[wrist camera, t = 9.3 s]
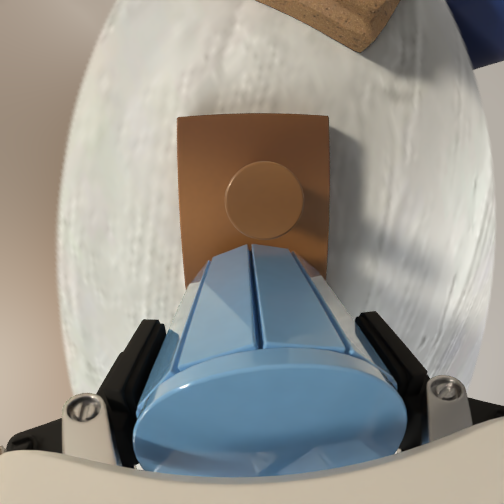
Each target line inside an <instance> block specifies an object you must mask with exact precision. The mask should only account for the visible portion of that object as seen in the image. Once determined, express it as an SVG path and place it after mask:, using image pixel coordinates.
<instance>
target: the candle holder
mask: <svg viewBox="0 0 504 504" xmlns="http://www.w3.org/2000/svg"><path fill="white" fill-rule="evenodd" d="M256 1H258V2H261V3H263V4H265V5H268V6H270V7H272V8H275V9H277V10H279V11H281V12H283V13H286V14H288V15H290V16H292V17H294V18H296V19H298V20H300V21H302V22H304V23H306V24H308V25H310V26H311V27H313V28H315V29H317V30H319V31H321V32H322V33H324V34H326V35H328V36H329V37H331V38H333V39H335V40H336V41H338V42H340V43H342V44H343V45H345V46H347V47H349V48H350V49H352V50H354V51H357V52H360V53H361V52H362V51H364V50H365V49H366V48H367V47H368V46H369V45H370V44H371V43H372V42H373V41H375V39H376V38H377V36H378V35H379V34H380V32H381V31H382V30H383V28H384V27H385V25H386V24H387V22H388V20H389V19H390V17H391V15H392V14H393V12H394V10H395V8H396V7H397V5H398V3H399V2H400V0H256Z"/></svg>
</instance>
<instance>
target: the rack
mask: <svg viewBox="0 0 504 504" xmlns="http://www.w3.org/2000/svg"><path fill="white" fill-rule="evenodd" d="M177 162H178V190H179V210H180V227H181V241H182V254H183V265H184V276H185V286H186V290H187V287H188V286H189V284H190V283H191V282H192V280H193V279H194V278H195V277H196V275H197V274H198V273H199V271H200V270H201V269H202V268H203V266H204V265H205V264H206V263H207V261H208V260H210V261H211V260H212V258H213V257H214V256H217V255H220V254H222V253H225V252H227V251H230V250H233V249H235V248H238V247H241V246H243V245H246V244H247V245H248V246H249V249H251V244H258V245H265V246H272V247H279V248H286V249H289V251H290V252H292V251H294V252H295V253H296V254H298V255H299V256H300V257H301V258H302V259H304V260H305V261H306V262H307V263H309V264H310V265H311V266H312V267H313V268H315V269H316V270H317V271H318V272H319V273H320V274H321V276H322V277H323V278H324V280H325V281H326V272H327V255H328V234H329V200H330V146H329V117H328V116H321V115H304V114H274V113H246V114H217V115H200V116H187V117H178V118H177Z"/></svg>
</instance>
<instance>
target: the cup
mask: <svg viewBox="0 0 504 504" xmlns="http://www.w3.org/2000/svg"><path fill="white" fill-rule="evenodd" d="M136 416H137V420H136V423H135V425H134V428H133V435H132V442H133V450H134V453H135V455H136V458H137V460H138V462H139V463H140V465H141V467H142V468H143V469H144V471H151V472H158V473H166V474H175V475H186V476H201V477H264V476H279V475H290V474H299V473H307V472H315V471H321V470H328V469H333V468H339V467H344V466H349V465H354V464H358V463H363V462H367V461H371V460H375V459H379V458H383V457H386V456H390V455H393V454H395V452H396V451H397V450H398V448H399V446H400V444H401V442H402V440H403V438H404V435H405V432H406V429H407V420H408V417H407V409H406V406H405V403H404V401H403V398H402V397H401V395H400V394H399V392H398V389H397V383H396V381H395V380H394V378H393V376H392V375H391V373H390V372H389V370H388V369H387V367H386V366H385V364H384V363H383V361H382V360H381V358H380V357H379V355H378V354H377V352H376V351H375V350H374V348H373V347H372V345H371V344H370V342H369V341H368V339H367V338H366V337H365V335H364V334H363V332H362V331H361V329H360V328H359V327H358V325H357V324H356V322H355V321H354V320H353V318H352V317H351V315H350V314H349V313H348V311H347V310H346V308H345V307H344V306H343V304H342V303H341V301H340V300H339V299H338V297H337V296H336V295H335V293H334V292H333V290H332V289H331V288H330V286H329V285H328V284H327V282H326V281H325V280H324V278H323V277H322V276H321V274H320V273H319V272H318V271H317V270H316V269H315V268H313V267H312V266H311V265H310V264H309V263H307V262H306V261H305V260H304V259H302V258H301V257H300V256H299V255H298V254H296V253H295V252H294V251H292V252H290V251H289V249H286V248H279V247H272V246H265V245H258V244H251V249H249V246H248V245H247V244H246V245H243V246H241V247H238V248H235V249H233V250H230V251H227V252H225V253H222V254H220V255H217V256H214V257H213V258H212V260H211V261H210V260H208V261H207V263H206V264H205V265H204V266H203V268H202V269H201V270H200V271H199V273H198V274H197V275H196V277H195V278H194V279H193V280H192V282H191V283H190V284H189V286H188V287H187V290H186V292H185V294H184V296H183V298H182V301H181V303H180V305H179V307H178V310H177V312H176V314H175V317H174V319H173V321H172V323H171V326H170V328H169V330H168V333H167V335H166V337H165V340H164V342H163V344H162V347H161V349H160V352H159V354H158V356H157V359H156V361H155V364H154V366H153V368H152V371H151V373H150V376H149V378H148V381H147V383H146V386H145V388H144V391H143V393H142V396H141V398H140V401H139V404H138V408H137V411H136Z"/></svg>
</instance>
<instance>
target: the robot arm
mask: <svg viewBox="0 0 504 504" xmlns="http://www.w3.org/2000/svg"><path fill="white" fill-rule="evenodd" d="M355 322H356V324H357V325H358V327H359V328H360V329H361V331H362V332H363V334H364V335H365V337H366V338H367V339H368V341H369V342H370V344H371V345H372V347H373V348H374V350H375V351H376V352H377V354H378V355H379V357H380V358H381V360H382V361H383V363H384V364H385V366H386V367H387V369H388V370H389V372H390V373H391V375H392V376H393V378H394V380H395V381H396V383H397V389H398V392H399V394H400V395H401V397H402V398H403V401H404V403H405V406H406V409H407V417H408V420H407V429H406V432H405V435H404V438H403V440H402V442H401V444H400V446H399V448H398V450H397V454H393V455H390V456H386V457H383V458H379V459H375V460H371V461H367V462H363V463H358V464H354V465H349V466H344V467H339V468H333V469H328V470H321V471H315V472H307V473H299V474H290V475H279V476H264V477H201V476H186V475H175V474H166V473H158V472H151V471H144V470H138V469H137V468H136V464H138V463H139V462H138V460H137V458H136V455H135V453H134V450H133V442H132V435H133V428H134V425H135V423H136V420H137V416H136V411H137V408H138V404H139V401H140V398H141V396H142V393H143V391H144V388H145V386H146V383H147V381H148V378H149V376H150V373H151V371H152V368H153V366H154V364H155V361H156V359H157V356H158V354H159V352H160V349H161V347H162V344H163V342H164V340H165V337H166V330H165V326H164V324H160V322H159V320H146V319H143V320H142V322H141V324H140V325H139V327H138V328H137V330H136V332H135V333H134V335H133V337H132V338H131V340H130V342H129V343H128V345H127V347H126V348H125V350H124V352H121V353H120V354H119V356H118V358H117V359H116V361H115V363H114V364H113V366H112V368H111V369H110V371H109V373H108V375H107V376H106V378H105V380H104V381H103V383H102V385H101V387H100V388H99V390H98V392H97V394H92V393H82V394H78V395H75V396H73V397H71V398H70V399H69V400H68V401H66V403H65V404H64V406H63V409H62V418H60V419H58V420H55V421H52V422H50V423H47V424H44V425H41V426H38V427H35V428H32V429H29V430H26V431H24V432H20V433H18V434H16V435H14V436H13V437H12V438H11V439H10V440H9V442H8V444H7V448H6V449H5V448H4V447H3V446H0V504H504V406H501V405H496V404H492V403H488V402H483V401H480V400H475V399H472V398H468V397H467V393H466V389H465V387H464V385H463V384H462V383H461V382H460V381H459V380H458V379H456V378H454V377H451V376H447V375H438V376H435V377H433V378H431V379H430V378H429V376H428V375H427V370H426V369H425V368H424V367H423V366H422V364H421V363H420V362H419V361H418V360H417V358H416V357H415V356H414V355H413V354H412V352H411V351H410V350H409V349H408V348H407V346H406V345H405V344H404V343H403V342H402V341H401V339H400V338H399V337H398V336H397V335H396V334H395V332H394V331H393V330H392V329H391V328H390V327H389V326H388V324H387V323H386V322H385V321H384V320H383V319H382V318H381V317H380V315H379V314H378V313H377V312H376V311H373V312H363V313H361V314H360V316H359V317H356V319H355Z"/></svg>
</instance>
